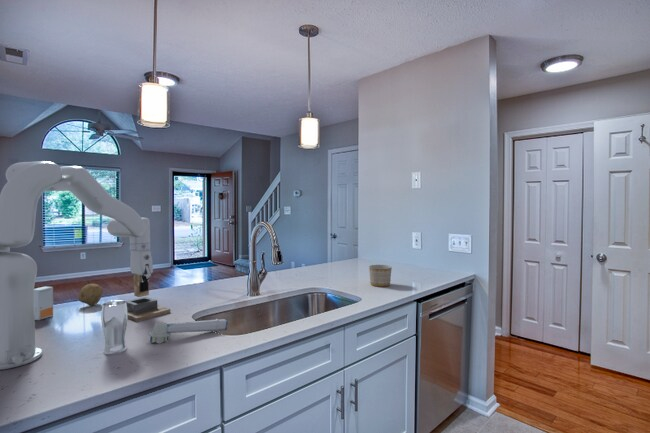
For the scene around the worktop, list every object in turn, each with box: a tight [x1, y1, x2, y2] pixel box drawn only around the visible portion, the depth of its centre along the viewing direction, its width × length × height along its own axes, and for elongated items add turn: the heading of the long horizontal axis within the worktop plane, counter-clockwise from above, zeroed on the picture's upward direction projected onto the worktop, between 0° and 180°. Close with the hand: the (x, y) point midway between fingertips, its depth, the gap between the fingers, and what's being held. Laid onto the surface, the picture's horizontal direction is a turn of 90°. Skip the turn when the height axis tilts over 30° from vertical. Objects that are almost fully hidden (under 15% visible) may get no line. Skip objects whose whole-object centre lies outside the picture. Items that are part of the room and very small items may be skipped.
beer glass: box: [100, 299, 129, 356], centre depth 107 cm, size 7×7×15 cm
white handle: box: [148, 318, 229, 344], centre depth 119 cm, size 5×7×25 cm
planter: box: [368, 264, 393, 288], centre depth 194 cm, size 13×13×10 cm
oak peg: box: [133, 273, 150, 298], centre depth 144 cm, size 4×4×10 cm
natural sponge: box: [77, 283, 104, 307], centre depth 153 cm, size 9×9×10 cm
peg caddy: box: [126, 296, 171, 323], centre depth 144 cm, size 20×14×5 cm
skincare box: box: [34, 285, 54, 321], centre depth 137 cm, size 6×4×12 cm
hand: (141, 290), depth 144 cm, fingers closed on oak peg, 4 cm apart
